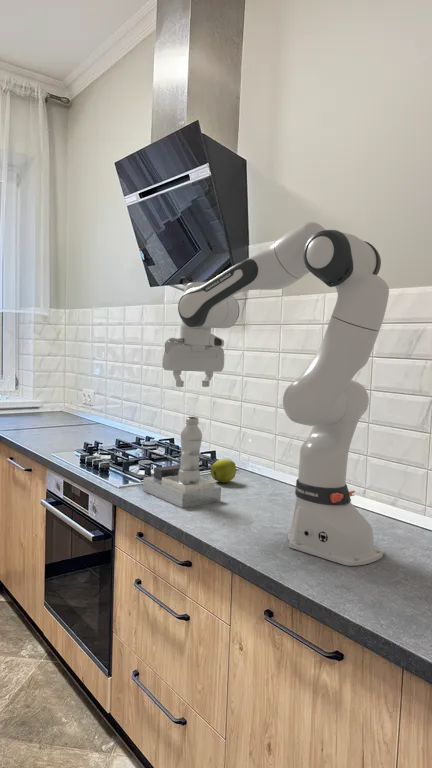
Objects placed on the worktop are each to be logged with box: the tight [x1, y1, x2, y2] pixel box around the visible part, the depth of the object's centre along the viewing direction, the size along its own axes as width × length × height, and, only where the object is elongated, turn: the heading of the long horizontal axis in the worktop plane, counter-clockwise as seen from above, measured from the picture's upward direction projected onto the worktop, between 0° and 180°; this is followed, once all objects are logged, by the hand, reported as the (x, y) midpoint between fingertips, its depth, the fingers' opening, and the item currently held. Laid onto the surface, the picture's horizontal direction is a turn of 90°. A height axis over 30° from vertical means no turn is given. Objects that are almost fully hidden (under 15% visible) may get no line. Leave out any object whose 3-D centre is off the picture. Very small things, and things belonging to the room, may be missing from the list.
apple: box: [209, 458, 238, 484], centre depth 178 cm, size 8×9×8 cm
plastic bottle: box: [178, 416, 203, 485], centre depth 155 cm, size 6×7×20 cm
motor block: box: [142, 464, 222, 509], centre depth 160 cm, size 23×14×7 cm, turn 40°
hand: (192, 386), depth 155 cm, fingers open, 8 cm apart
